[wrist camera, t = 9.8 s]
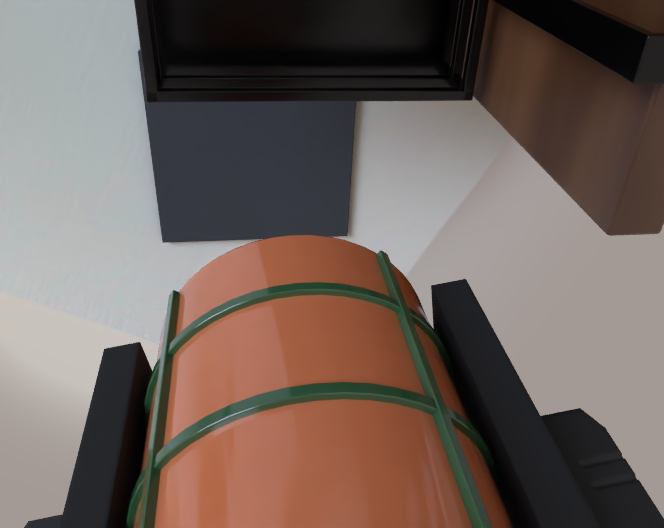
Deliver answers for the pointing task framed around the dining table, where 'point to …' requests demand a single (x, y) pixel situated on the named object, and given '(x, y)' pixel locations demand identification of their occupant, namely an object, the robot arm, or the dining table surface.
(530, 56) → the rack
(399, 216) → the dining table surface
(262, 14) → the basket
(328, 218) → the mat
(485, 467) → the jar
